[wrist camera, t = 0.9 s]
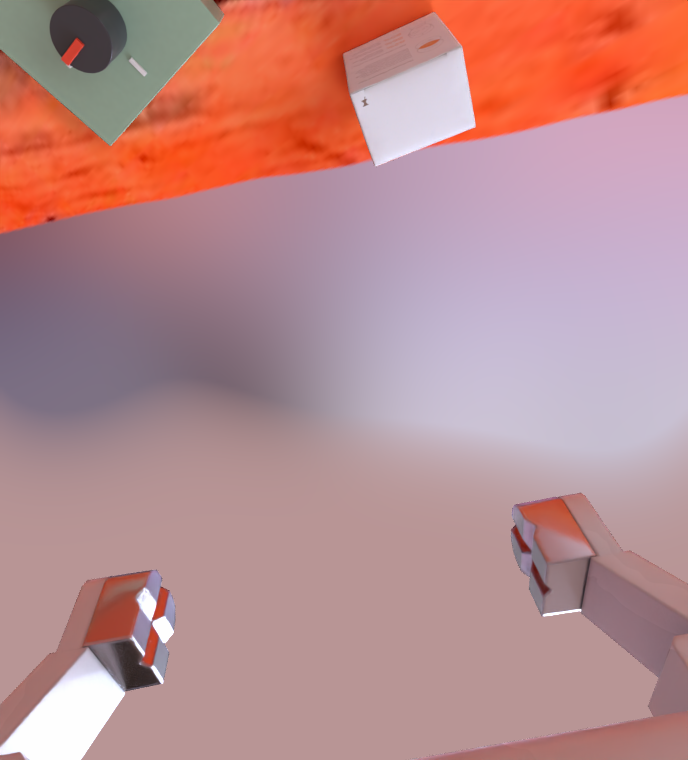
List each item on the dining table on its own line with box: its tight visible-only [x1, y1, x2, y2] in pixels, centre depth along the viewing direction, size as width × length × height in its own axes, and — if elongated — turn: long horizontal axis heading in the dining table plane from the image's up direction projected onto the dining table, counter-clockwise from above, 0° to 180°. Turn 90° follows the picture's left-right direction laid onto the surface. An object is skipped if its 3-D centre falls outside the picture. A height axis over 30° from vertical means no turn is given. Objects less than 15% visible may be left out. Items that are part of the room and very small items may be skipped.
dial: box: [49, 0, 127, 73], centre depth 36 cm, size 4×4×4 cm
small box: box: [343, 12, 476, 167], centre depth 39 cm, size 8×6×10 cm
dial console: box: [0, 0, 224, 146], centre depth 38 cm, size 14×11×3 cm
